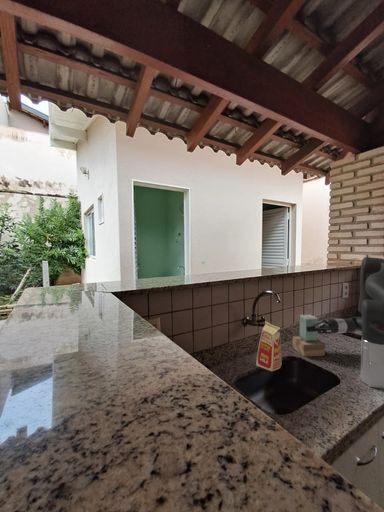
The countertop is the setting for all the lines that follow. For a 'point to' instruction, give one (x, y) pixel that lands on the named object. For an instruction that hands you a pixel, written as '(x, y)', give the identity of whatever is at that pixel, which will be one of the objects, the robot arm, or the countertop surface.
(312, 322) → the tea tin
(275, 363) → the milk carton
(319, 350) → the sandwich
